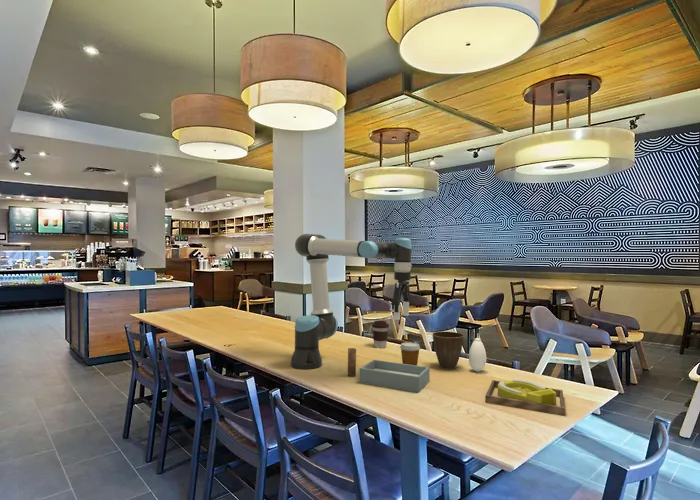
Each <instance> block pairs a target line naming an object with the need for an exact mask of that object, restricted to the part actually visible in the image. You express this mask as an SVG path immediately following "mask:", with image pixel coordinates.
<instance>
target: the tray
mask: <svg viewBox="0 0 700 500" xmlns="http://www.w3.org/2000/svg"><path fill="white" fill-rule="evenodd" d="M430 369H431V368H430V366H429V367H428V366H423V365H417V366H416V365H409V364H403V363H402V362H401V363H400V362H395V361H394V362H393V361H385V360H378V359H373V360H371V361H369V362H368V363H366V364H365V365H362V366H361V367H359V374H358V375H359V379H358V380H359V381H358V382H359V383H361V384H366V385H372V386H378V387H384V388H391V389H395V390H402V391H408V392H414V393H420V392H421V391H422V390H423V389H424V388H425V387H426V385H428V383H430V378H431V377H430V372H431V370H430Z"/></svg>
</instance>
